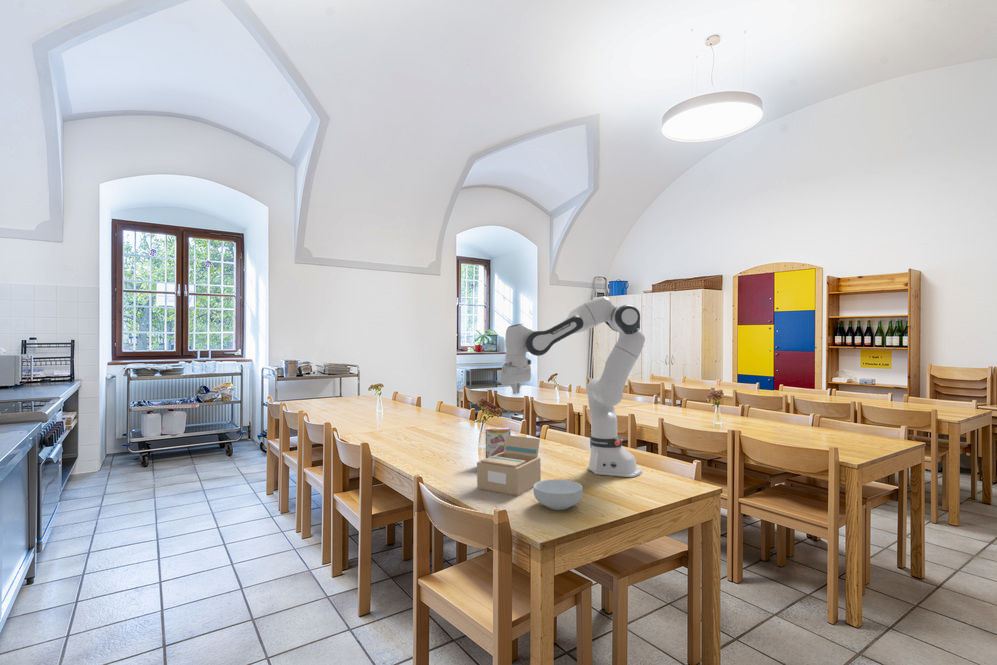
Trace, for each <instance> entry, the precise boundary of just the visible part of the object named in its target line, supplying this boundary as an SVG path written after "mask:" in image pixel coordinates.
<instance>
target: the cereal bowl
mask: <svg viewBox="0 0 997 665" xmlns="http://www.w3.org/2000/svg"><path fill="white" fill-rule="evenodd" d="M583 487H584V486H583V485H582V484H581V483H579V482H577V481H573V480H569V479H560V478H559V479H558V478H556V479H545V480H541V481H540V482H537V483H535V484H534V485H533V488H532V489H533V495H534V498H535V499H536V501H537V502H538V503H539V504H541V505H543V506H545V507H546V508H548V509H550V510H553V511H564V510H567V509H569V508H570V507H573V506H575V505H577V504H579V502H580V501H581V500H582V498H583V491H584V489H583Z"/></svg>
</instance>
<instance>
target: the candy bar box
mask: <svg viewBox="0 0 997 665" xmlns="http://www.w3.org/2000/svg"><path fill="white" fill-rule="evenodd" d="M507 435H510V436H512V428H511V427H486V429H485V459H486V458H488V457H490V456H494V455H496V454H499V453H501V452H503V453H504V450H505V444H506V437H507Z"/></svg>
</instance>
